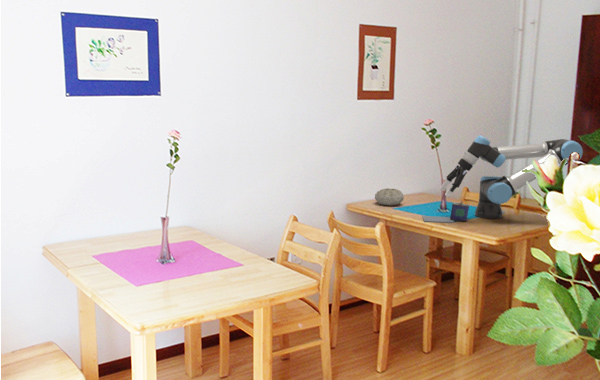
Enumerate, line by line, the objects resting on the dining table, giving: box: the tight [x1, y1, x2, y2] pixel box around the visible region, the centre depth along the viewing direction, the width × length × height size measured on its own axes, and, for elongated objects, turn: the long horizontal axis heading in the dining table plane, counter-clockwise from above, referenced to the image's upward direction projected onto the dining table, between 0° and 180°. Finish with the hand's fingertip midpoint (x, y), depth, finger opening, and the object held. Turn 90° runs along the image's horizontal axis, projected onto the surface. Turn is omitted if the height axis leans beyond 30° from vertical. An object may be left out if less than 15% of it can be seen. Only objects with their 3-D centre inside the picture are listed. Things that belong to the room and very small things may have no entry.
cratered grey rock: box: [374, 188, 405, 206], centre depth 362 cm, size 18×18×10 cm
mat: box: [422, 215, 455, 224], centre depth 320 cm, size 16×13×1 cm
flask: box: [449, 201, 470, 222], centre depth 318 cm, size 9×3×11 cm, turn 88°
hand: (444, 193), depth 320 cm, fingers open, 13 cm apart
